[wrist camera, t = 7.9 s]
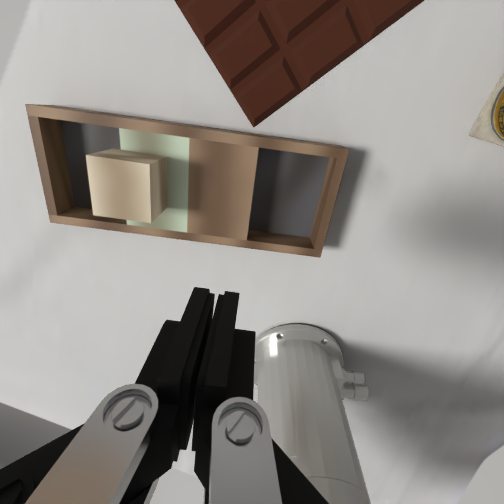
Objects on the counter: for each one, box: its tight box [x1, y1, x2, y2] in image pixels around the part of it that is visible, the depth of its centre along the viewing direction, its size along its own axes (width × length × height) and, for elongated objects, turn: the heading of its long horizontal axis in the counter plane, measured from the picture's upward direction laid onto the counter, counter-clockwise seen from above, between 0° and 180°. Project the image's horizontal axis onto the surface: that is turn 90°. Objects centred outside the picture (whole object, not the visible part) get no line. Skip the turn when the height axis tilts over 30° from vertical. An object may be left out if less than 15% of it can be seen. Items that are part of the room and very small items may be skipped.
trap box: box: [25, 104, 349, 257], centre depth 26 cm, size 26×10×3 cm, turn 83°
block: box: [86, 149, 167, 223], centre depth 23 cm, size 4×4×4 cm
